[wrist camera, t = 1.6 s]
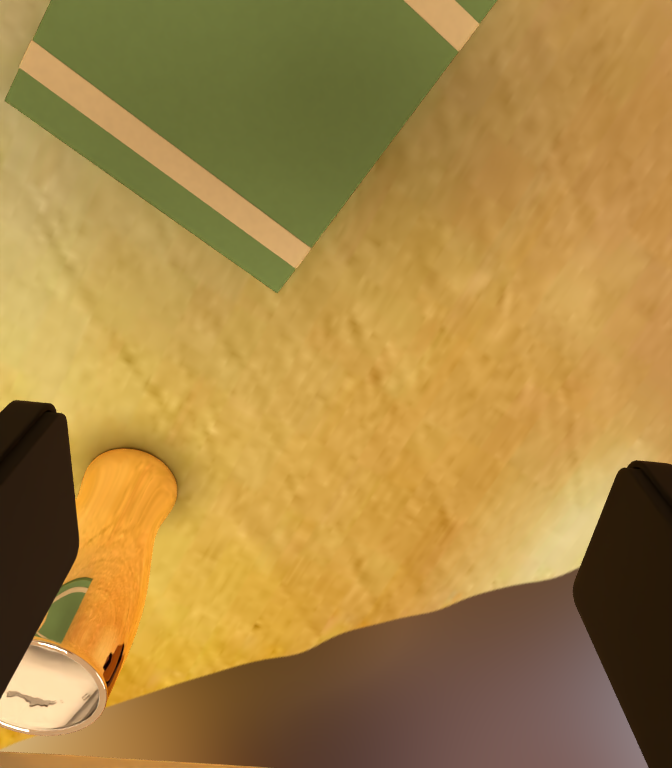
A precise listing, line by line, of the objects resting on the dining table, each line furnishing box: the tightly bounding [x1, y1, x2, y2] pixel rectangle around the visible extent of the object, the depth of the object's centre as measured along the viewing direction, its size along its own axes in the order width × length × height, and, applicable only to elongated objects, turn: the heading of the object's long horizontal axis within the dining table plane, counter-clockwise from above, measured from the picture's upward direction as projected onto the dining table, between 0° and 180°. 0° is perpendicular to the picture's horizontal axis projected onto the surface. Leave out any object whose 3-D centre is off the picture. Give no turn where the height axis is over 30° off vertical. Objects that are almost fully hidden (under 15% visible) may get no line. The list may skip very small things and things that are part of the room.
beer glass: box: [0, 448, 177, 736], centre depth 33 cm, size 7×7×15 cm
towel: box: [5, 0, 497, 293], centre depth 28 cm, size 16×18×1 cm
